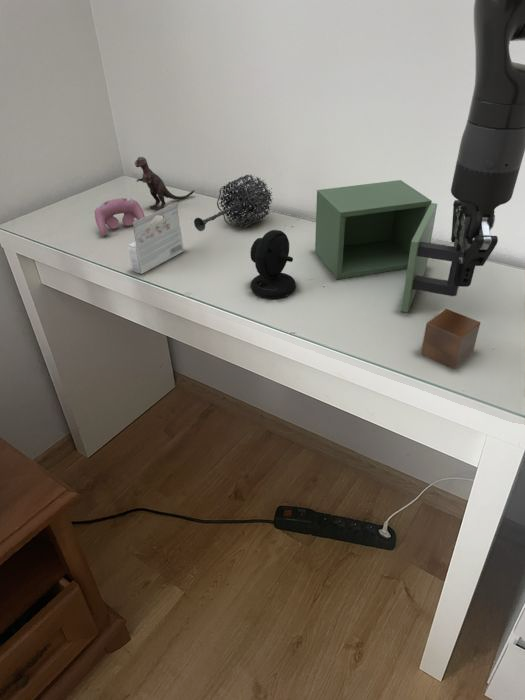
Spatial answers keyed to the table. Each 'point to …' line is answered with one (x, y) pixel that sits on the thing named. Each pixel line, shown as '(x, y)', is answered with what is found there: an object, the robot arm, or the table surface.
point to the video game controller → (116, 207)
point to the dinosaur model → (156, 185)
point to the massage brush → (241, 202)
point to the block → (450, 338)
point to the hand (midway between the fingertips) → (459, 280)
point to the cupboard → (367, 227)
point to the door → (419, 258)
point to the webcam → (272, 265)
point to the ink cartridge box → (156, 239)
